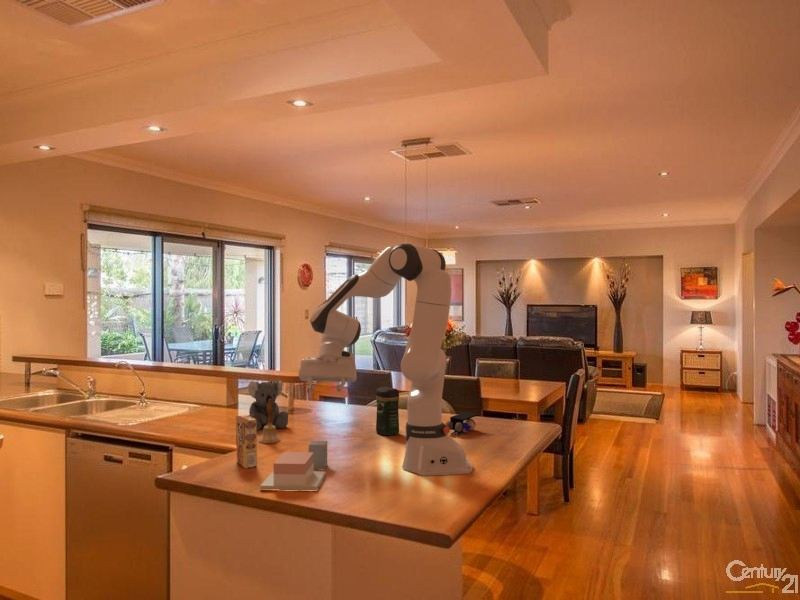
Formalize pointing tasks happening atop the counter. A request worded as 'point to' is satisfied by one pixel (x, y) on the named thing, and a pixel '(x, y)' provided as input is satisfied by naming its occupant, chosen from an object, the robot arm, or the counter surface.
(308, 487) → the brick tower base
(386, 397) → the coffee jar
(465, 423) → the figurine character
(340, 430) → the counter surface
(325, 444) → the slate brick
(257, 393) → the koala plush
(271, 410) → the hand bell
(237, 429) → the candy box
